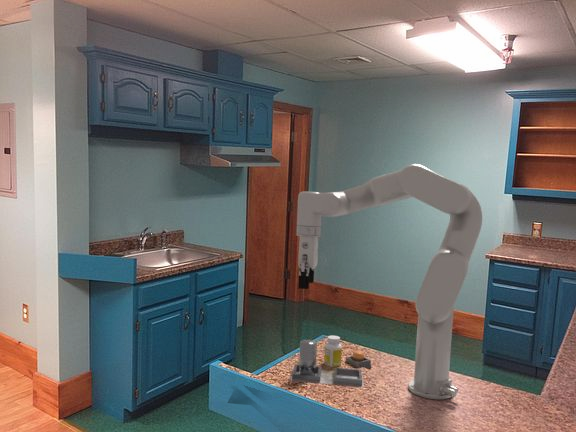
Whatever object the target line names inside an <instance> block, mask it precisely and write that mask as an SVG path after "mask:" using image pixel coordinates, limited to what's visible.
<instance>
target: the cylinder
mask: <svg viewBox="0 0 576 432" xmlns="http://www.w3.org/2000/svg"><path fill="white" fill-rule="evenodd" d="M317 348H318V342H317V341H315V340H313V339H302V340H300V342H299V356H298V357H299V359H298V361H299V363H298V365H299V374H306V375H315V374H316V366H317V350H318V349H317Z"/></svg>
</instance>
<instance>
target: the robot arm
mask: <svg viewBox="0 0 576 432" xmlns="http://www.w3.org/2000/svg"><path fill="white" fill-rule="evenodd" d="M410 198H413V199H416V200H418V201H420V202H422V203H424V204H426V205H428V206H430V207H433V208H434V209H436V210H437V211H440V212H441V213H444V214H447V215H449V222H448V224H447V228H446V231H445V233H444V237H443V239H442V242H441V244H440V246H439V248H438V251H437V252H436V253H435V254H434V255H433V257H432V259H431V261H430V263H429V266H428V268H427V270H426V273H425V276H424V279H423V281H422V282H421V286H420V288H419V291H418V293H417V296H416V298H415V310H416V313H417V315H418V316H417V330H416V340H415V341H416V342H415V343H416V344H415V360H414V373H413V375H414V376H413V379H411V380H410V381H408V384H407V387H408V389H409V391H410V392H411V393H413V394H414V395H416V396H418V397H421V398H424V399H428V400H429V399H430V400H447V399H450V398H456V396H457V394H458V392H459V388H458V387H456V386H453V384H452V383H453V382H452V381H453V380H452V379H451V378H450V365H451V364H450V363H451V351H452V349H451V347H452V337H453V335H452V334H453V323H454V314H455V313H454V311H455V304H456V301H457V299H458V297H459V295H460V292H461V289H462V287H463V284H464V282H465V279H466V277H467V275H468V274H467V273H468V270H469V263H470V260H471V257H472V255H473V252H474V249H475V246H476V244H477V242H478V238H479V235H480V233H481V229H482V225H483V212H482V207H481V204H480V201H479V200H478V198H477V197H476V196H475V195H474V193H473V192H472V191H471V190H470V189H469V188H468V187H467V186H465V185H464V184H462V183H458V182H456V181H454V180H452V179H449V178H447V177H446V176H443V175H441V174H439V173H437V172H435V171H433V170H430V169H429V168H427V167H426V166H424V165H422V164H418V163H417V164H416V163H414V164H413V163H412V164H409V165H407V166H404V167H403V168H402V169H397V170H396V171H392V172H390V173H385V174H381V175H379V176H374V177H373V178H370V179H369V180H368V181H366V182H365V183H363V184H360V185H357V186H355V187H352V188H348V189H344V190H341V191H330V192H329V191H328V192H318V191H301V192H299V193H298V196H297V212H296V213H297V215H296V236H297V237H299V241H298V255H297V256H298V259H297V261H298V263H297V266H298V268H299V272H298V281H297V282H298V283H297V284H298V285H297V286H298V289H302V290H308V289H309V288H310V284H313V283H314V281H315V268H316V267H317V265H318V262H319V261H318V260H319V259H318V257H319V256H318V255H319V239H318V238H320V237H321V231H322V230H321V229H322V217H327V218H328V217H329V218H335V217H339V216H345V215H348V214H352V213H355V212H359V211H363V210H367V209H370V208H375V207H377V208H378V207H380V206H384V205H385V206H386V205H388V204H392V203H395V202H399V201H402V200H406V199H407V200H408V199H410Z"/></svg>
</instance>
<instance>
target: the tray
mask: <svg viewBox="0 0 576 432" xmlns="http://www.w3.org/2000/svg"><path fill="white" fill-rule="evenodd" d="M290 381H291V382H299V383H312V384H324V385H325V384H326V385H335V386H336V385H337V386H348V387H360V388H364V387H365V386H364V377H363V372H362V369H358V368H347V367H333V370H326V369H325V370H324V369H322V366H320V365H316V374H315V375H306V374H299V363H298V364H294V366H293V369H292V373H291V376H290Z"/></svg>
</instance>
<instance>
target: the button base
mask: <svg viewBox="0 0 576 432" xmlns="http://www.w3.org/2000/svg"><path fill="white" fill-rule="evenodd" d="M345 363H348V364H350V365H351V366H353V367H355V368H360V367H363V368H364V369H367V370H369V369H372V364H371V359H370V358H368V357H366V356H364V360H362V361H358V360H354V359H353V355H351V356H349V355H348V356H346V357H345Z"/></svg>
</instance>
